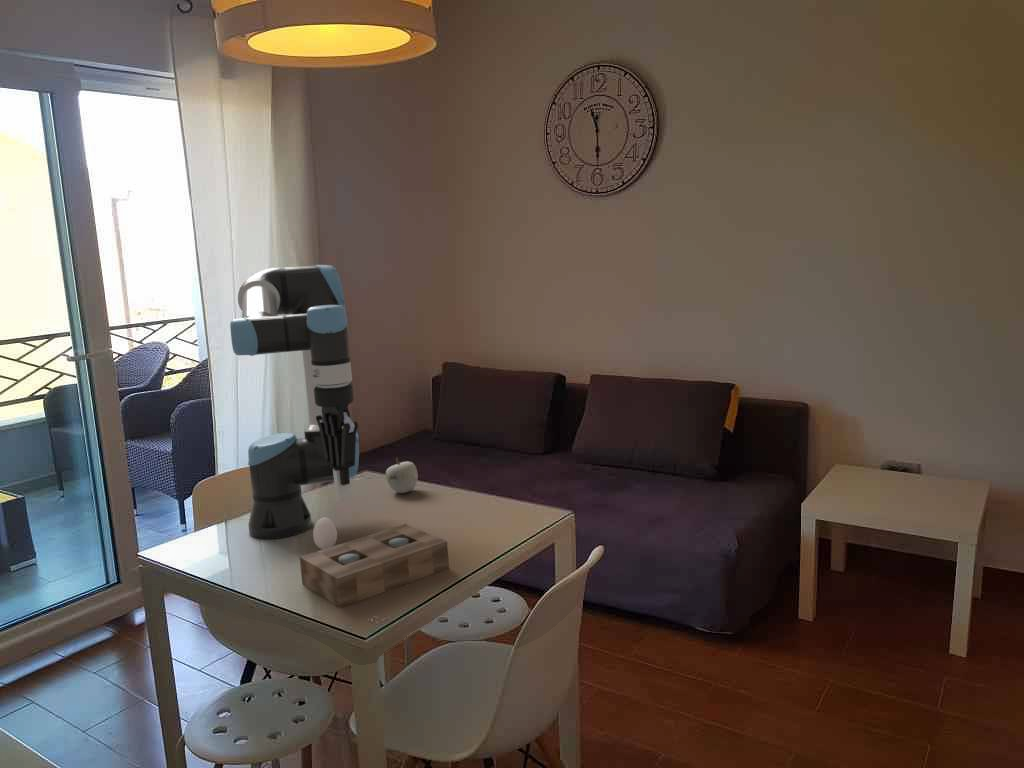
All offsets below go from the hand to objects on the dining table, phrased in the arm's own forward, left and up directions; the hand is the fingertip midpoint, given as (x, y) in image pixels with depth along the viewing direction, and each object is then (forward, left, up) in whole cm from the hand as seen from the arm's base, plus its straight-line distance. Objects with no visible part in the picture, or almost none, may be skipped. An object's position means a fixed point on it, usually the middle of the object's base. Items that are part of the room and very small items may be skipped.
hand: (343, 498), depth 165 cm
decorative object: (-45, +42, -19) cm, 64 cm away
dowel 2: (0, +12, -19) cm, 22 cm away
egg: (-22, +6, -19) cm, 29 cm away
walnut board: (0, +6, -18) cm, 19 cm away
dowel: (0, 0, -19) cm, 19 cm away
